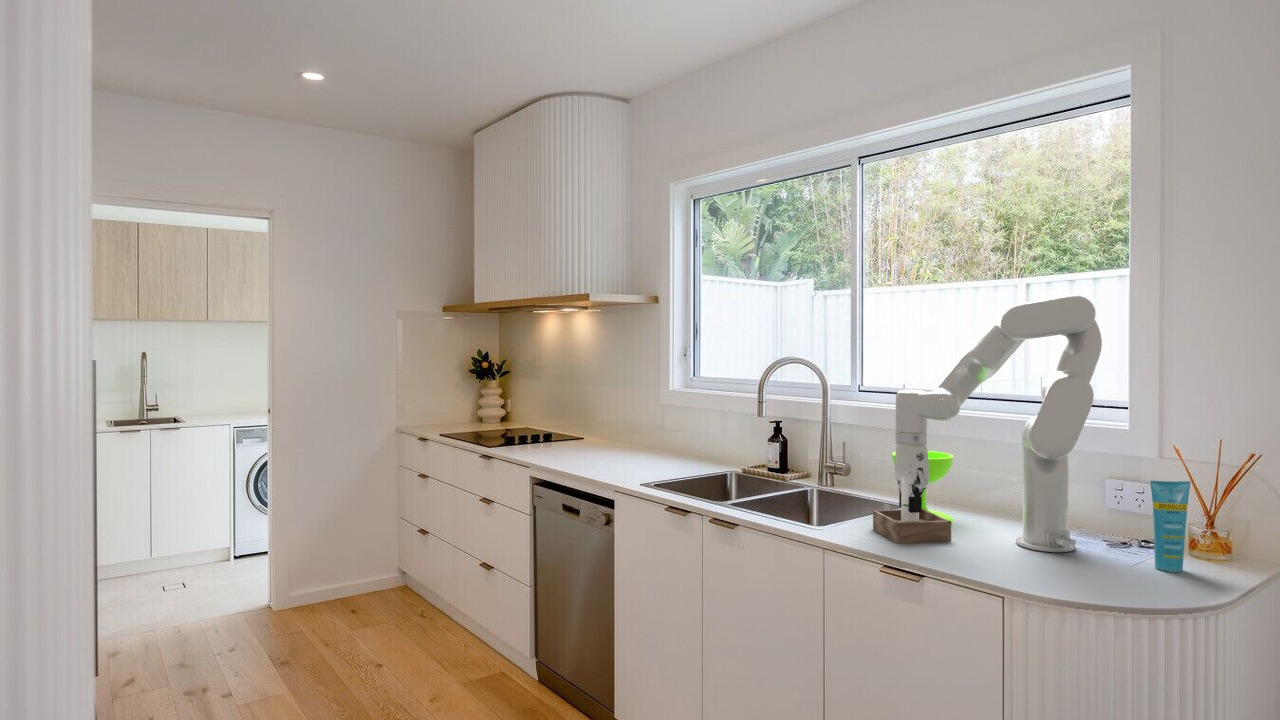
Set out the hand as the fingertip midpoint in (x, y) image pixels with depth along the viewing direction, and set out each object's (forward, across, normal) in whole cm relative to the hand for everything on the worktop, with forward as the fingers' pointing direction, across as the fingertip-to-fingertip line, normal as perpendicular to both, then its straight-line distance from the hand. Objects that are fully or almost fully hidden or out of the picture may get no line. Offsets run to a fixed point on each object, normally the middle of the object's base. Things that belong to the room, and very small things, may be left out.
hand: (910, 509), depth 190 cm
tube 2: (+6, -35, -41) cm, 55 cm away
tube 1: (+5, 0, 0) cm, 5 cm away
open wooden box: (+7, 0, 0) cm, 7 cm away
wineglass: (+7, +16, -12) cm, 21 cm away
